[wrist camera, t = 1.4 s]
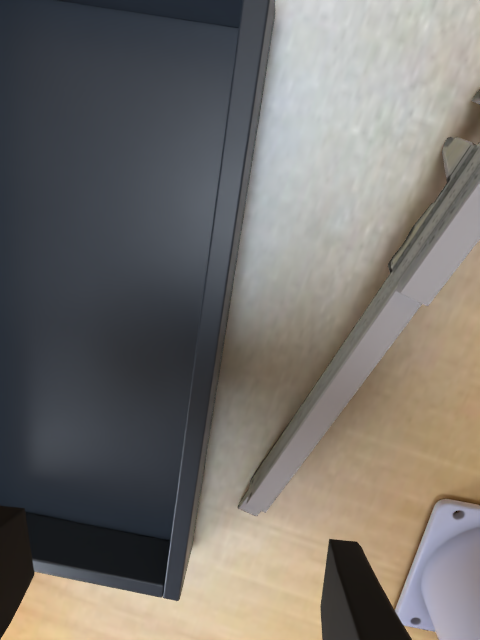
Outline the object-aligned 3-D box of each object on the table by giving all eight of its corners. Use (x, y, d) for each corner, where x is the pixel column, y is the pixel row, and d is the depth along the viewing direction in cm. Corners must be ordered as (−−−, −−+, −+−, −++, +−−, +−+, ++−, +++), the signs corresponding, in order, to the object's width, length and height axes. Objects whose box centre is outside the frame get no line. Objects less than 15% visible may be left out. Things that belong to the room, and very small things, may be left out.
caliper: (473, 87, 14) (616, 6, 8) (500, 100, 14) (662, 30, 8) (237, 501, 20) (221, 627, 14) (257, 510, 20) (249, 639, 14)
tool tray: (275, 12, 14) (275, -35, 11) (191, 548, 22) (178, 602, 19) (-41, -35, 14) (-118, -92, 12) (-16, 507, 22) (-59, 553, 19)
